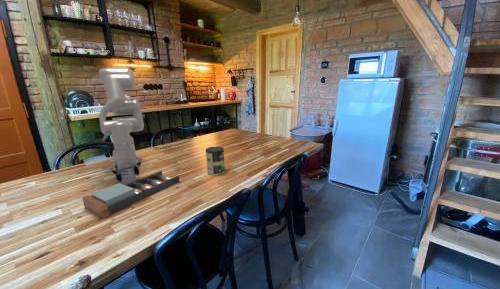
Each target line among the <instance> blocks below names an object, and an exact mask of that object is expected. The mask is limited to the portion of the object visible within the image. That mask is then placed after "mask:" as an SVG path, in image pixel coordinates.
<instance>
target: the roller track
mask: <svg viewBox="0 0 500 289" xmlns="http://www.w3.org/2000/svg"><path fill="white" fill-rule="evenodd" d="M158 180H160V181H158ZM161 181H162V182H161ZM180 181H181V180H180V176H179V175H176V176H174V177H169V176H165V175H163V171H162V170H159V171H157V172H155V173H151V174H149V175H147V176H144V177H141V178H138V179H136V180H135V181H133V182H131V183H128V184H126V186H128V187H131V188H133V189H134V190H135V189H137V188H138V189H140V190H142V191H140V192H139V191H137V190H135V195H133V196H131V197H129V198H126V199H124V200H122V201H120V202H117V203H115V204H113V205H111V206H107V204H106V203H104V202H102V201H100V200H98V199H96V198H94V197H92V196H91V194H90V195H89V194H88V195H84V196H83V197H81V199H82V201H83V206H84V209H86V210H88V211H89V212H91V213H93V214H94V215H97V217H100V218H102V219H105V218H107V217H109V216H111V215H113V214H115V213H118V212H119V211H121V210H124V209H126V208H127V207H130V206H132V205H134V204H136V203H138V202H141V201H142V200H145V199H147V198H148V197H149V198H150V196H152V195H154V194H158V193H159V192H161V191H163V190H165V189H167V188H169V187H171V186H172V187H173V185H176V184H177V183H180ZM146 184H149V185H146ZM150 185H153V186H150Z"/></svg>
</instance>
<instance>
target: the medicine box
mask: <svg viewBox="0 0 500 289" xmlns="http://www.w3.org/2000/svg"><path fill="white" fill-rule="evenodd" d="M119 174H121V179H122V181H121V182H120V184H123V185H126V184H128V183H131V182H133V181H136V180H137V175H135V169H134V166H132V167H129V168H126V169H122V170H121V171H120V173H119Z"/></svg>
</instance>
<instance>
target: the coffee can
mask: <svg viewBox="0 0 500 289" xmlns="http://www.w3.org/2000/svg"><path fill="white" fill-rule="evenodd" d="M224 149H225V148H224V147H222V146H211V147H207V148H206V149H205V158H206V168H207V174H208V175H211V176H218V175H219V176H221V175H223V174H225V172H226V170H225V168H226V167H225V152H224V151H225V150H224Z"/></svg>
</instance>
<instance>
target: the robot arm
mask: <svg viewBox="0 0 500 289" xmlns="http://www.w3.org/2000/svg"><path fill="white" fill-rule="evenodd" d="M98 76H99V78H100V80H101V82H102V84H103V86H104V89H105V94H106V103H105V104H104V105H103V106H102V107H101V108H100V111H99V116H98V118H99V125H100V126H99V127H100V132H101V133H102V134H103V135H104V136H111V137H112V138H111V139H112V143H113V148H114V149H113V150H112V161H113V162H112V164H111V165H110V166H108V167H107V169H108V171H110V173H112V174H114V175H115V179H116V181H118V182H119V183H121V181H122V179H121V174H120V171H121V170H122V169H126V168H129V167H132V166H134V169H135V176H140V167H141V164H142V161H143V158H142V157H137V153H136V148H135V147H136V146H135V142H134V138H133V136H131V135H130V134H131V133H134V132H141V131H143V130H144V127H145V124H144V118H143V113H142V108H141V107H142V106H141V103H140V101H139V100H138V99H137V98H126V93H125V92H126V91H125V90H133V89H134V90H135V88H136V80H135V75H134V71H133V70H132V69H131V68H129V67H103V68H101V69H99V70H98ZM109 113H112V114H113V115H115V116H119V117H114V118H113V119H111V120H107V116H108V114H109ZM127 115H132V116H127Z"/></svg>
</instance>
